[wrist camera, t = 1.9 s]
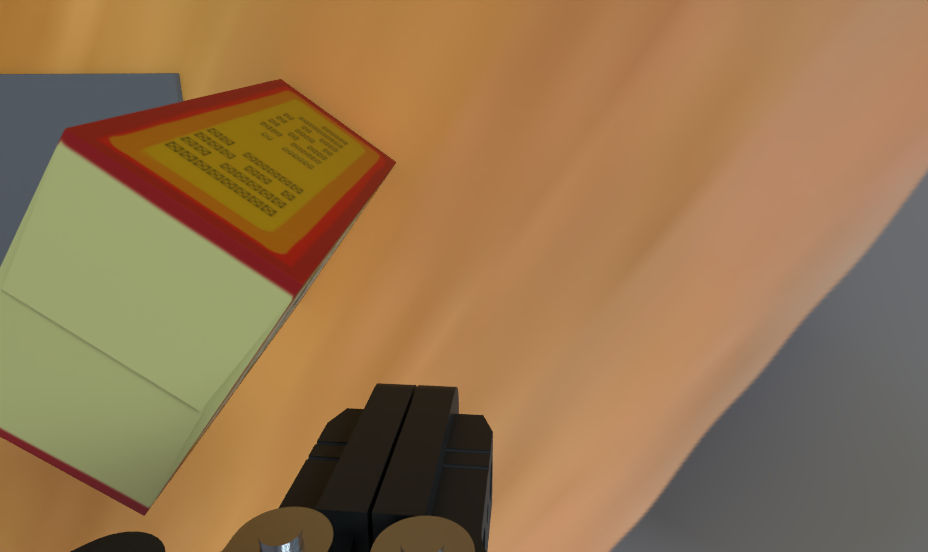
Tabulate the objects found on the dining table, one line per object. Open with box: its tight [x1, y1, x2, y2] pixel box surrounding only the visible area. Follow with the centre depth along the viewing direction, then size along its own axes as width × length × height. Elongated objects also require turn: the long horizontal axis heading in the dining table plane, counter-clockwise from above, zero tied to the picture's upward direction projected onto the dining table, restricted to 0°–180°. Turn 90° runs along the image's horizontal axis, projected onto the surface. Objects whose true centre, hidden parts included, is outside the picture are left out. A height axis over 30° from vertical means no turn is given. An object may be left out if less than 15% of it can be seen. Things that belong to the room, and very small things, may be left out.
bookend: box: [0, 73, 183, 267], centre depth 32 cm, size 12×19×2 cm, turn 90°
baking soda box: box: [0, 79, 396, 516], centre depth 24 cm, size 10×6×16 cm
